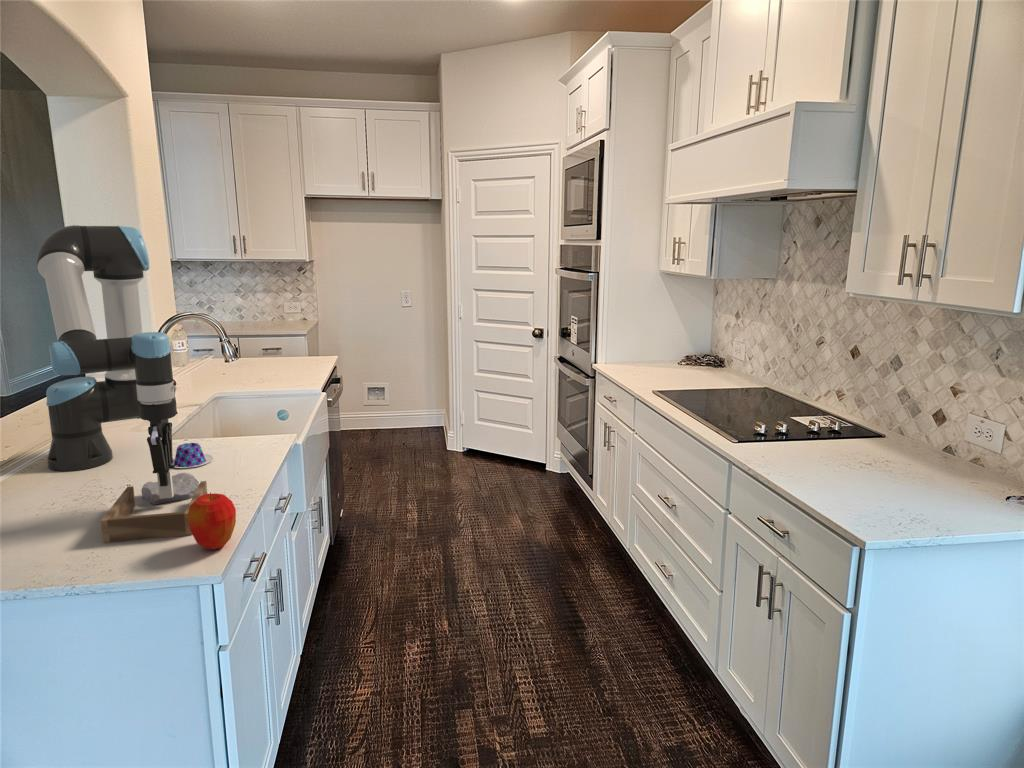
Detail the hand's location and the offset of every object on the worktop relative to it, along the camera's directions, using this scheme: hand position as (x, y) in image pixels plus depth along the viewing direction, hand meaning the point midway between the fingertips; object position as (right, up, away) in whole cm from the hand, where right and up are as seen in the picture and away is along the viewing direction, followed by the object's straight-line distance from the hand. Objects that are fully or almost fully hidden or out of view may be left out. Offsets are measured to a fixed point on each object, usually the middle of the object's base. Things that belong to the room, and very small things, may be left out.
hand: (166, 496), depth 155 cm
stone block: (-2, -1, +7) cm, 7 cm away
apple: (+20, -7, -19) cm, 28 cm away
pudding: (-9, +4, +30) cm, 32 cm away
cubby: (+2, -4, -7) cm, 9 cm away
